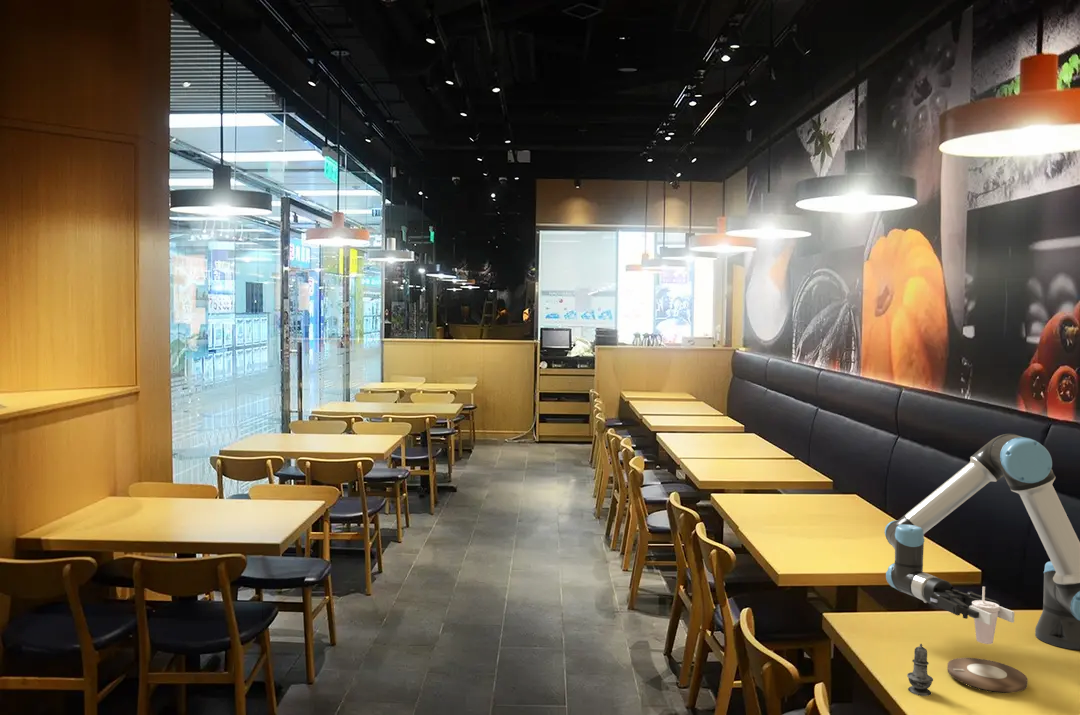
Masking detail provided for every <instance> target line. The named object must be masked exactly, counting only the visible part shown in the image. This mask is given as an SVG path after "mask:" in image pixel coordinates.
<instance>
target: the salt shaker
mask: <svg viewBox="0 0 1080 715" xmlns="http://www.w3.org/2000/svg"><path fill="white" fill-rule="evenodd" d="M923 646H924V645H923V644H922V643H919V646H917V647H915V648H914V651H913V652H914V655H913V656H914V657H913V658H914V659H912V662H913V670H912V672H907V675H906V676H907V678H908V682H909V684H910V685H911V686H909V687H907V691H908V692H909V693H911V694H913V695H916V696H919V695H920V696H921V697H928V696H929V695H930V696H931V695H932V694H931V693H932V691H931V690H930V689H929V688H930V687H931V686H932V684H933V681H934V678H933V677H932V676H931V675H929V674H928V665H929V664H930V663H929V662H928V650H927V648H925V647H923ZM930 696H929V697H930Z"/></svg>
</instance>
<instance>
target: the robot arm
mask: <svg viewBox="0 0 1080 715" xmlns="http://www.w3.org/2000/svg"><path fill="white" fill-rule="evenodd" d="M969 459H970V461H969V462H968V463H967V464H966V465H965V466H963V467H962V468H961V469H959V470H958V471H957V472H956V473H955V474H953V475H952V476H951V477H950V478H949V479H947V480H946V481H944V483H942V484H941V485H940V486H938V487H937V488H936V489H935V490H934V491H932V492H931V493H930V494H929V495H928V496H926V497H925V498H924V499H922V500H921V501H920V502H919V503H918V504H916V505H915V506H914V507H913V508H912V509H910V510H909V511H908V512H907V513H906V514H904V515H903V516H902V517H900V518H899V519H898V520H892V521H890V522H888V523H887V524H886V525H885V527H884V536H885V538H886V540H887V542H888V543H889V545H890V546H892V547H893V549H894V563H892V564H890V565H889V566H888V568H887V571H886V572H885V579H886V582H887V584H888V585H889V586H890V587H891V588H894V589H895V590H897V591H899V592H901V593H904V594H907V595H909V596H911V597H914V598H917V599H919V600H921V601H923V603H925V604H927V603H928V604H929V605H932V606H934V607H937V608H938V609H939V608H940V609H943V610H945V611H947V612H948V613H951V614H953V615H955V616H961V615H962V618H963V619H968V618H969V617H970V618H972V619H977V620H979V621H981V622H984V623H986V624H988V625H992V614H991V613H989V612H986V611H984V610H981V609H979V608H976V607H974V606H972V601H975V600H982V595H980V594H977V593H975V592H974V591H971V590H968V591H967V593H966V592H963V591H960V590H959V589H955V588H954V587H953V585H952V584H951V583H950V582H949V581H948V580H944V579H943V578H940V577H937V576H935V575H932V574H929V573H927V572H925V571H924V570H923V569H924V544H925V534H926V533H927V532H928V531H929V530H931V529H932V528H933V527H934V526H936V525H937V524H939V523H940V522H941V521H942V520H943V519H945V518H946V517H947V516H949V515H950V514H951V513H952V512H954V511H955V510H956V509H958V508H959V507H960V506H961V505H962V504H964V503H965V502H966V501H967V500H969V499H970V498H971V497H973V496H974V495H975V494H977V493H978V492H979V491H980V490H981V489H983V488H984V487H985V486H986V485H987V484H989V483H990V482H996V483H997V481H999V480H1001V478H1003V477H1004V479H1005V480H1006V483H1007V485H1008V487H1009V488H1010V491H1011V492H1013V493H1016V494H1018V495H1019V496H1020V499H1021V501H1022V503H1023V506H1024V507H1025V509H1026V512H1027V513H1028V516H1029V517H1030V520H1031V522H1032V524H1033V527H1034V529H1035V530H1036V532H1037V534H1038V537H1039V539H1040V541H1041V543H1042V545H1043V547H1044V550H1045V551H1046V554H1047V556H1048V558H1049V559H1050V561H1047V562H1046V563H1045V564H1044V571H1043V600H1042V601H1043V604H1042V612H1041V615H1040V617H1039V619H1038V621H1037V624H1036V626H1035V633H1034V634H1035V637H1036V638H1037V639H1038V640H1040V641H1042V642H1044V643H1046V644H1049V645H1051V646H1054V647H1057V648H1058V647H1059V648H1063V649H1068V650H1076V651H1077V650H1078V651H1080V539H1079V538H1078V535H1077V533H1076V532H1075V530H1074V528H1073V525H1072V523H1071V521H1070V519H1069V517H1068V516H1067V515H1068V514H1067V513H1066V510H1065V509H1064V506H1063V505H1062V501H1061V500H1060V498H1059V496H1058V494H1057V491H1056V490H1055V488H1054V486H1053V483H1054V481H1055V480H1056V475H1055V473H1054V471H1053V469H1052V468H1053V460H1052V456H1051V454H1050V452H1049V450H1048V449H1047V448H1046V447H1045V446H1044V445H1042V444H1041V443H1040V442H1039V441H1037V440H1035V439H1032V438H1030V437H1024V436H1021V435H1018V434H1015V433H1005V434H1001V435H998V436H996V437H994V438H992V439H991V440H990V441H988V442H987V443H986V444H984V445H983V446H982V447H980V449H978V450H977V451H976V452H975V453H974V454H972V455H971V456H970V457H969ZM985 601H989V602H993V603H996V604H998V605H999V606H1000V602H999V601H998V600H996V599H991V598H989V597H987V596H985ZM997 618H1000V619H1002V620H1004V621H1007V622H1009V623H1013V624H1014V623H1015V611H1014V610H1011V609H1008V608H1005V607H1003V606H1000V611H998V616H997Z"/></svg>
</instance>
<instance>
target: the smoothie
mask: <svg viewBox="0 0 1080 715" xmlns="http://www.w3.org/2000/svg"><path fill="white" fill-rule="evenodd" d="M981 590H982V594H981V596H982V600H975V601H972V606H974V607H976V608H979V609H981V610H984V611H986V612H989V613H991V614H992V625H988V624H986V623H984V622H981V621H979V620H977V619H974V618H973V619H974V620H973V621H974V628H975V629H974V630H975V638H976V642H977V643H981V644H984V645H993V644H994V637H995V632H996V628H997V620H998V617H997V616H998V611H1000V604H999V605H998V604H996V603H993V602H989V601H985V597H986V586H982V589H981Z"/></svg>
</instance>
